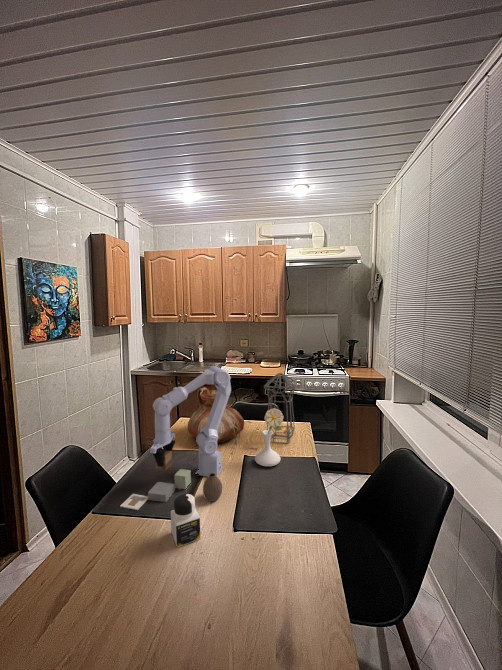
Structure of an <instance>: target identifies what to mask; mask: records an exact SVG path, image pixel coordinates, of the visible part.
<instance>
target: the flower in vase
mask: <svg viewBox="0 0 502 670" xmlns="http://www.w3.org/2000/svg"><path fill="white" fill-rule="evenodd" d="M263 419H264V421H265V423H266V426H265V425H263V424H262V425H261V426H263V427H264V428H265V430H263V431H261V434H262V435H263V438H264V447H263V449H262V450H259V452H257V454H256V455H255V457H254V461H255V462H256V464H258V465H260V466H263V467H273V466H277V465H278V464H279V463H281V459H282V458H281V455H280V454H279V453H278V452H276V451H275V450H274V449H272V447H271V438H272V437H271V435H274V432H273V431H276V432H279V431H283V427H280V426H282V422H283V421H284V415H283V413H282V411H281V410H280V409H278V408H276V407H275V408H274V407H272V409H270V408H269V410H268V409H267V411H266V412H265V415H264V418H263ZM267 425H268V430H267ZM270 426H272V427H271V429H270V430H269V428H270ZM272 429H273V431H272Z"/></svg>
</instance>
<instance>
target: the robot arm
mask: <svg viewBox="0 0 502 670" xmlns="http://www.w3.org/2000/svg"><path fill="white" fill-rule="evenodd" d="M231 379H232V377H231V376H230V374H229V372H228V371H227V370H226V369H222V368H221V367H219V366H216V365H214V366H211V367H209V368H208V369H205V370H204V372H202V373H200V375H198V376H197V377H195V378H194V379H193V380H191V381H190V382H189V383H187V384H186V385H184V386H178V387H177V386H175V387H173V389H172V390H170V392H168V393H167V394H163V395H162V397H157V398H156V399H155V400H154V402H153V403H152V409H153V411H154V434H155V435H154V437H155V438H153V440H152V442H153V444H152V445H151V447H149V453H150V454H152V456H154V457H153V458H154V460H155V459H156V462H157V465H158V466H160V467H163V465H164V455H165V452H166V450H167V451H172V452H173V450H174V447H175V444H176V441H175V440H173V439H175V438H176V433H175V432H172V431H171V417H170V413H171V412H172V409H173V408H174V407H176V406H178V405H180V404H181V403H182V402H184V401H186V400H187V398H188V396H189V394H191V393H193V392H194V391H196V390H199V389H200V388H202V387H203V386H204V385H206V384H207V385H214V386H215V388H216V390H218V392H217V394H216V397H215V400H214V403H213V406H212V409H211V411H210V414H209V417H208V420H207V423H206V426H205V427H203V428H202V430H201V432H200V433H199V434H198V436H197V438H196V439H195V442H196V444H197V445H198V450H197V453H198V454H197V455H198V456H197V458H198V459H197V460H198V469H199V470H198V469H197V470H196V472H194V474H197V473H198V474H199V475H198V476H203V477H208V476H209V474H211V473H215V474H216V476H217V477H218V475H219V474H220V472H221V471H222V470H223V467H224V466H223V460H222V459H223V454H222V451H218V450H217V448H218V443H217V440H218V432H217V430H218V427H219V424H220V421H221V418H222V416H223V413H224V410H225V407H226V406H227V404H228V400H229V398H230V395H231V393H232V385H231Z"/></svg>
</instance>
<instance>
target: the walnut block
mask: <svg viewBox="0 0 502 670" xmlns="http://www.w3.org/2000/svg"><path fill="white" fill-rule="evenodd" d="M154 460H155V461H154V462H155V463H154V464H155V470H161V471H167V470H168V469H169V468H170V467H172V465H173V450H172V451H167V450H166V452H165V455H164V465H163V467H160V466H158V465H157V462H156V459H155V458H154Z"/></svg>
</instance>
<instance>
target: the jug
mask: <svg viewBox="0 0 502 670" xmlns="http://www.w3.org/2000/svg"><path fill="white" fill-rule="evenodd" d="M217 392H218V390H217V389H208V388H207V387H200V388H198V389H197V392H196V398H197V403H198V404H199V407H198V409H197V410H196V411H194V412H193V414H192V415H191V416H190V418H189V419H188V423H187V431H188V433H189V434H190V436H191V437H192V438H193V439H195V440H196V438H197V436H198V434H199V433H200V432H201V430H202V428H203V427H205V426H206V423H207V420H208V417H209V414H210V411H211V409H212V406H213V403H214V400H215V397H216V394H217ZM244 428H245V419H244V418H243V416H242V415H241V414H240V412H239V411H237V409H235V408H233V407H230V406H229V405H226V407H225V410H224V413H223V416H222V418H221V421H220V424H219V427H218V430H217V432H218V440H217V444H219V443H220V444H221V443H223V442H226V441H228V440H230V439H232V438H234V437H236V436H238V435H239V434H240V433H242V431H244Z"/></svg>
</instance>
